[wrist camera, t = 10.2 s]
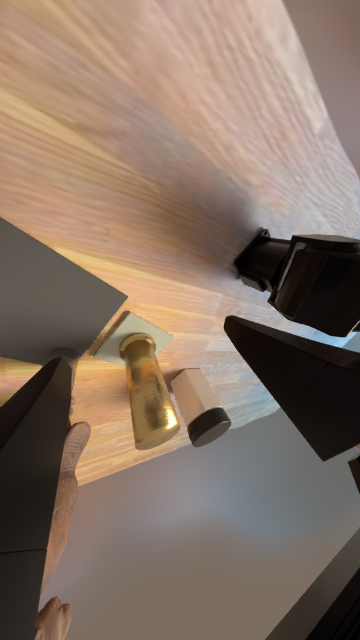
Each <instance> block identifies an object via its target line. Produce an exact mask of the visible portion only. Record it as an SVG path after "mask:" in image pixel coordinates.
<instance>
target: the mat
mask: <svg viewBox="0 0 360 640" xmlns="http://www.w3.org/2000/svg"><path fill="white" fill-rule="evenodd" d="M127 298H128V296H126V295H125V294H123V293H122V292H120V291H118V290H117V289H115V288H113V287H112V286H110V285H109V284H107V283H105V282H104V281H102V280H101V279H99V278H97V277H96V276H94V275H92V274H91V273H89V272H88V271H86V270H84V269H83V268H81V267H80V266H78V265H76V264H75V263H73V262H72V261H70V260H68V259H67V258H65V257H63V256H62V255H60V254H59V253H57V252H55V251H54V250H52V249H51V248H49V247H47V246H46V245H44V244H42V243H41V242H39V241H38V240H36V239H34V238H33V237H31V236H30V235H28V234H26V233H25V232H23V231H21V230H20V229H18V228H17V227H15V226H13V225H12V224H10V223H9V222H7V221H5V220H4V219H2V218H0V356H1V357H6V358H11V359H16V360H21V361H26V362H31V363H36V364H41V365H43V363H44V360H45V358H46V356H47V354H48V353H49V352H50V351H51V350H53V349H56V348H62V347H65V348H71V349H73V350H75V351H76V352H77V353H78V354H79V358H80V357H81V356H82V354H83V353H84V352H85V351H86V349H87V348H88V347H89V346H90V344H91V343H92V342H93V341H94V339H95V338H96V337H97V336H98V334H99V333H100V332H101V331H102V329H103V328H104V327H105V326H106V324H107V323H108V322H109V321H110V319H111V318H112V317H113V316H114V314H115V313H116V312H117V310H118V309H119V308H120V307H121V305H122V304H123V303H124V302H125V300H126V299H127Z"/></svg>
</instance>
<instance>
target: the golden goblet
mask: <svg viewBox="0 0 360 640" xmlns="http://www.w3.org/2000/svg"><path fill="white" fill-rule="evenodd" d="M155 351H156V344H155V341H154V339H153V337H152V336H151V335H149V334H147V333H133V334H131V335H129V336H127V337H125V338H124V339H123V340H122V341H121V343H120V346H119V353H120V357H121V359H122V360H123V361H125V367H126V375H127V383H128V391H129V399H130V407H131V415H132V423H133V432H134V440H135V447H136V449H138V450H147V449H151V448H154V447H157V446H159V445H161V444H163V443H165V442H167V441H168V440H170V439H171V438H172V437H174V436H175V435H176V434H177V433H178V431H179V430H180V424H179V421H178V418H177V415H176V412H175V409H174V406H173V404H172V401H171V398H170V395H169V392H168V389H167V387H166V384H165V381H164V378H163V375H162V372H161V369H160V367H159V364H158V361H157V358H156V355H155Z"/></svg>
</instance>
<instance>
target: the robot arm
mask: <svg viewBox="0 0 360 640" xmlns="http://www.w3.org/2000/svg"><path fill="white" fill-rule="evenodd" d="M237 262H238V263H237ZM234 265H235V267H236V269H237V270H238V272H239V276H240V278H241V279H242V281H243V282H244V284H246V285H247V286H249V287H253V288H255V289H257V290H259V291H261V292H264V291H265V290H267V291H269V292H271V295H270V298H268V301H267V302H268V303H270V304H271V305H272V306H273V307H274V308H275V309H276V310H277V311H278V312H279V313H281V314H282V315H283V316H284V317H285V318H286V319H288V320H290V321H293V322H296V323H300V324H304V325H307V326H310V327H313V328H315V329H317V330H319V331H321V332H323V333H325V334H327V335H330V336H335V337H347V336H348V335H349V333H350V332H360V240H358V239H353V238H349V237H344V236H337V235H321V234H312V235H293V236H292V238H291V240H284V239H276V238H271V237H270V234H269V231H268V229H263V230H262V231H261V232H260V233H259V234H258V236H257V237H256V238H255V239H254V240H253V241H252V242H251V243H250V244H249V245H248V247H247V248H246V249H245V250H244V251H243V252H242V253H241V254H240V255H239V256H238V257H237V259H236V260H235V261H234ZM224 330H225V332H226V334H227V335H228V337H229V338H230V340H231V342H232V343H233V345H234V346H235V348H236V349H237V351H238V352H239V353H240V355H241V356H242V357H243V359H244V360H245V361H246V362H247V364H248V365H249V366H250V368H251V369H252V370H253V372H254V373H255V374H256V375H257V377H258V378H259V379H260V381H261V382H262V383H263V385H264V386H265V387H266V388H267V390H268V391H269V392H270V394H271V395H272V396H273V398H274V399H275V400H276V401H277V403H278V404H279V405H280V407H281V408H282V409H283V411H284V412H285V413H286V414H287V416H288V417H289V418H290V420H291V421H292V422H293V423H294V425H295V426H296V428H297V429H298V430H299V431H300V433H301V434H302V435H303V437H304V438H305V439H306V441H307V442H308V443H309V444H310V446H311V447H312V448H313V450H314V451H315V452H316V453H317V455H318V456H319V457H320V458H321V460H322V461H327V460H329V459H330V458H333V457H334V456H337V455H338V454H340V453H342V452H345V451H346V450H348V449H351V448H353V447H355V448H356V449H357V450H358V451H359V452H358V453H357V454H356V455H355V456H354V457H352V458H351V459H350V460H349V461H348V464H349V467H350V469H351V472H352V475H353V477H354V480H355V483H356V485H357V488H358V491H359V493H360V353H359V352H354V351H350V350H346V349H343V348H339V347H335V346H331V345H328V344H324V343H320V342H317V341H313V340H310V339H306V338H303V337H300V336H297V335H293V334H290V333H287V332H284V331H281V330H278V329H274V328H271V327H268V326H265V325H262V324H259V323H255V322H252V321H249V320H246V319H243V318H239V317H236V316H233V315H231V316H227V317H226V318H225V323H224ZM71 385H72V369H71V367H70V365H69V364H68V362H67V361H66V359H65V358H64V357H62V356H61V357H57V358H53V359H51V360H50V361H49V362H48V363H47V364H46V365H45V366H44V367H43V368H41V369H40V370H39V371H38V372H37V373H36V374H35V375H34V376H33V377H32V378H31V379H30V380H29V381H28V382H27V383H26V384H25V385H24V386H23V387H21V388H20V389H19V390H18V391H17V392H16V393H15V394H14V395H13V396H12V397H11V398H10V399H9V400H8V401H7V402H6V403H5V404H4V405H3V406H2V407H0V640H33V637H34V631H35V625H36V618H37V612H38V606H39V600H40V594H41V587H42V581H43V575H44V569H45V562H46V556H47V550H48V549H46V548H47V547H48V543H49V536H50V530H51V524H52V518H53V512H54V505H55V499H56V493H57V487H58V481H59V474H60V468H61V462H62V456H63V449H64V443H65V437H66V431H67V425H68V418H69V412H70V405H71ZM265 640H360V528H359V529H358V530H357V532H356V533H355V534H354V535H353V536H352V537H351V539H350V540H349V541H348V542H347V543H346V544H345V546H344V547H343V548H342V549H341V550H340V552H339V553H338V554H337V555H336V556H335V558H334V559H333V560H332V561H331V562H330V563H329V565H328V566H327V567H326V568H325V569H324V571H323V572H322V573H321V574H320V575H319V576H318V577H317V579H316V580H315V581H314V582H313V583H312V585H311V586H310V587H309V588H308V589H307V591H306V592H305V593H304V594H303V595H302V596H301V598H300V599H299V600H298V601H297V603H296V604H295V605H294V606H293V607H292V608H291V610H290V611H289V612H288V613H287V614H286V615H285V617H284V618H283V619H282V620H281V621H280V622H279V624H278V625H277V626H276V627H275V628H274V630H273V631H272V632H271V633H270V634H269V635H268V637H267V638H266V639H265Z"/></svg>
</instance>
